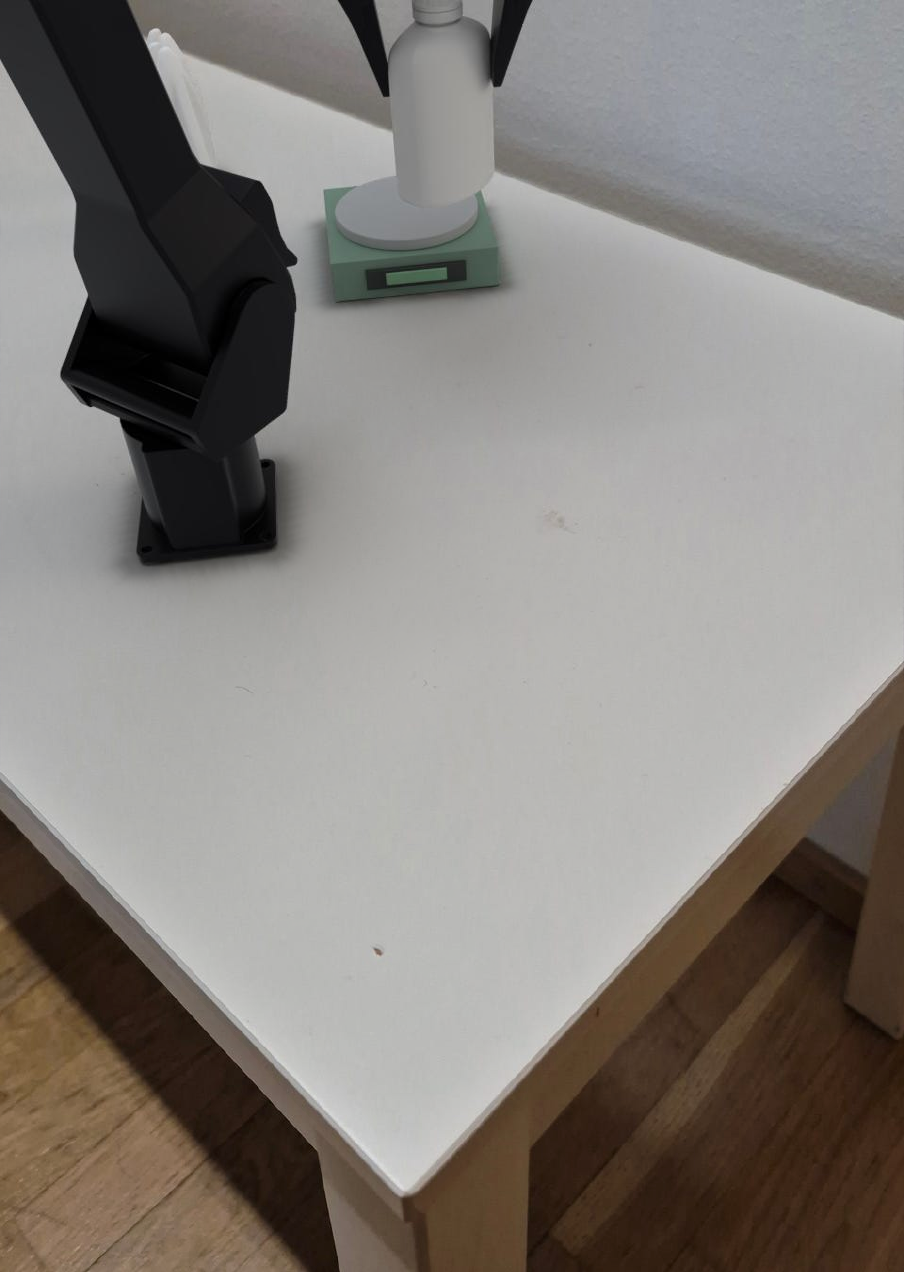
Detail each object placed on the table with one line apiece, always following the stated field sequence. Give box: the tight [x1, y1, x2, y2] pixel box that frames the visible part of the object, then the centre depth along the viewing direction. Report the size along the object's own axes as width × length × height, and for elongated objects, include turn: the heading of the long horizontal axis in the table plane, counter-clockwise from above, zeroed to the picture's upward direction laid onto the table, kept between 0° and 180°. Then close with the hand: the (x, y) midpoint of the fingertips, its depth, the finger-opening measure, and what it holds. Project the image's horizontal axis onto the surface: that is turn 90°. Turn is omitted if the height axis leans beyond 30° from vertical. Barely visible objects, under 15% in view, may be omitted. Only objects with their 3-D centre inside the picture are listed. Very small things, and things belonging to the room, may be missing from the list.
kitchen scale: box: [323, 175, 500, 303], centre depth 72 cm, size 10×10×3 cm
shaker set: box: [146, 27, 219, 169], centre depth 76 cm, size 12×4×11 cm, turn 13°
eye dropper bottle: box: [387, 0, 495, 210], centre depth 58 cm, size 4×6×12 cm
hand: (441, 89), depth 58 cm, fingers closed on eye dropper bottle, 5 cm apart
